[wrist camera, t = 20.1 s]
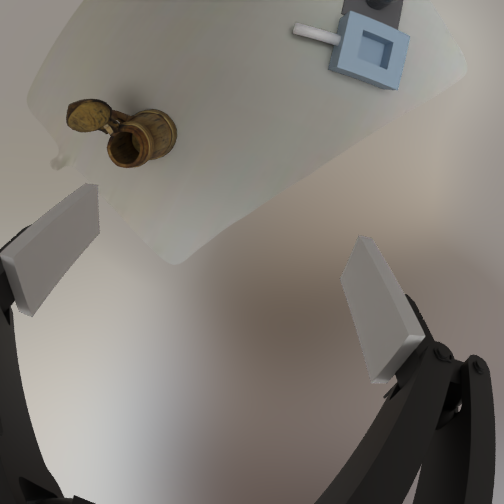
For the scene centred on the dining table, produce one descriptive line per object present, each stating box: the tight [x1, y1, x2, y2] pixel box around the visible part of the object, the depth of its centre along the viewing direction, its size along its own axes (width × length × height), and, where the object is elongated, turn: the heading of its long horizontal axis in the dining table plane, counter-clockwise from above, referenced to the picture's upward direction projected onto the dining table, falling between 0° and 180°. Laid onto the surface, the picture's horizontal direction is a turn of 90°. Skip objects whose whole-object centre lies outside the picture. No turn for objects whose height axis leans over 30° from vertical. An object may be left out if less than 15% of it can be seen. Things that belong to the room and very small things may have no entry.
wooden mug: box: [66, 99, 177, 168], centre depth 37 cm, size 9×14×18 cm, turn 27°
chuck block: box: [293, 11, 410, 90], centre depth 34 cm, size 10×17×6 cm, turn 78°
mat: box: [341, 0, 403, 30], centre depth 31 cm, size 10×10×1 cm
